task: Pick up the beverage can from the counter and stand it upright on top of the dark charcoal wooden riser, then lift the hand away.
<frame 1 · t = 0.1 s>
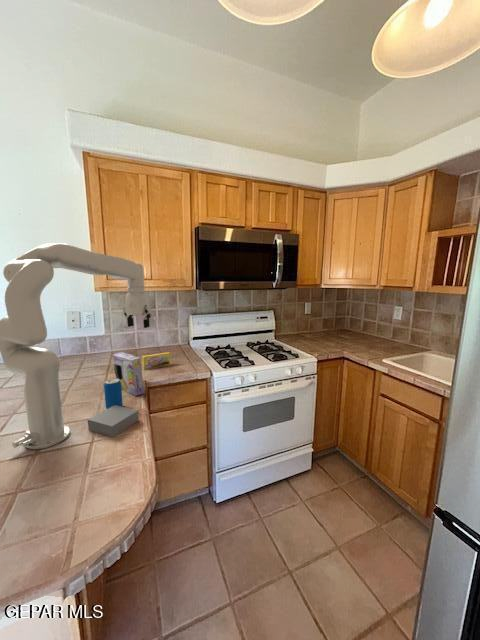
hand: (138, 326, 128), 31 cm above the countertop, tool pointing down, fingers open, 9 cm apart
riser: (114, 424, 101), on the countertop
candy box: (157, 367, 166), on the countertop
beverage can: (114, 408, 114), on the countertop
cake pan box: (129, 390, 132), on the countertop
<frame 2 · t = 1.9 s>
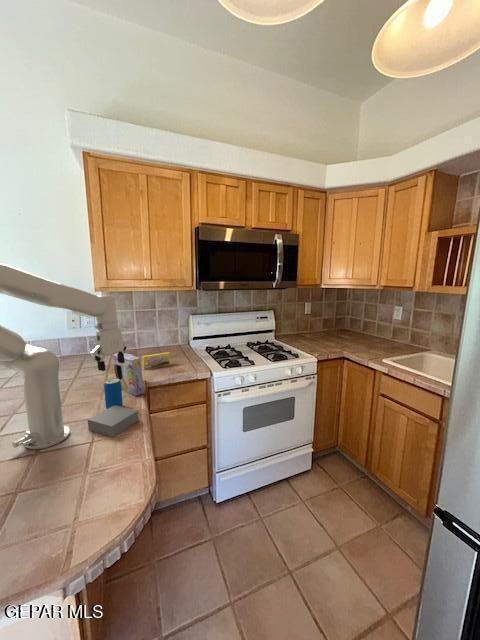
hand: (112, 366, 112), 18 cm above the countertop, tool pointing down, fingers open, 9 cm apart
nothing on the countertop moved.
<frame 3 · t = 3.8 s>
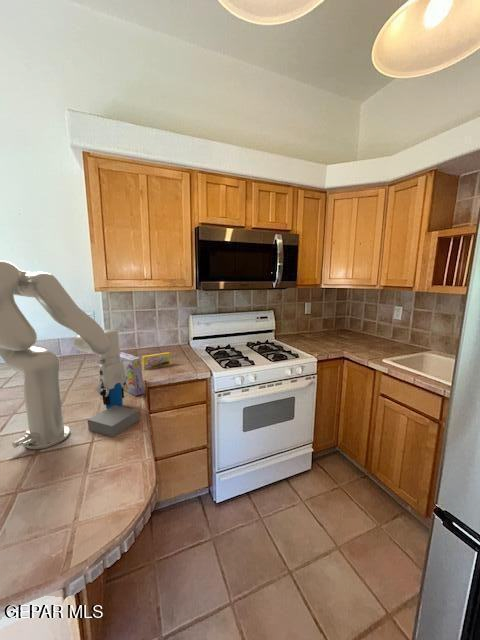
hand: (114, 400, 113), 3 cm above the countertop, tool pointing down, fingers closed on beverage can, 6 cm apart
beverage can: (114, 408, 114), on the countertop, touching gripper
everything else where it was.
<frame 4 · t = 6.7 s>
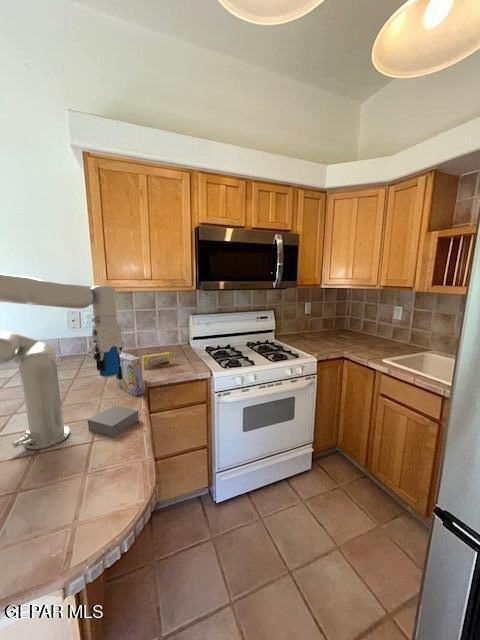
hand: (108, 367, 101), 21 cm above the countertop, tool pointing down, fingers closed on beverage can, 6 cm apart
beverage can: (109, 375, 101), point 18 cm above the countertop, touching gripper
everything else where it was.
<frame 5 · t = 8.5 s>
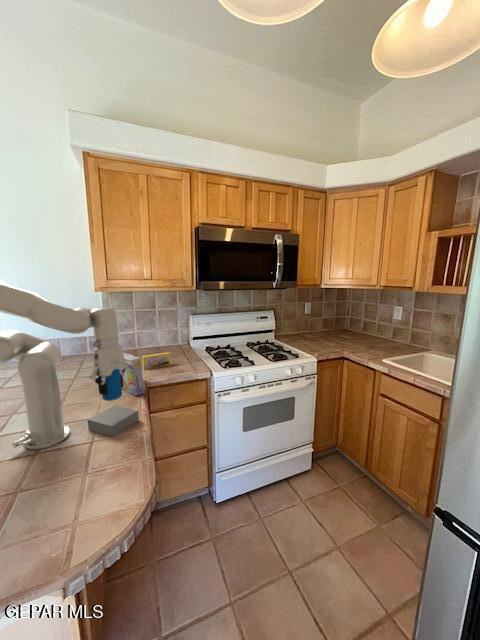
hand: (111, 389, 99), 14 cm above the countertop, tool pointing down, fingers closed on beverage can, 6 cm apart
beverage can: (112, 398, 99), point 10 cm above the countertop, touching gripper
everything else where it was.
when the fingers open (8 cm above the countertop, at t = 10.0 s): beverage can drops 1 cm, resting on riser.
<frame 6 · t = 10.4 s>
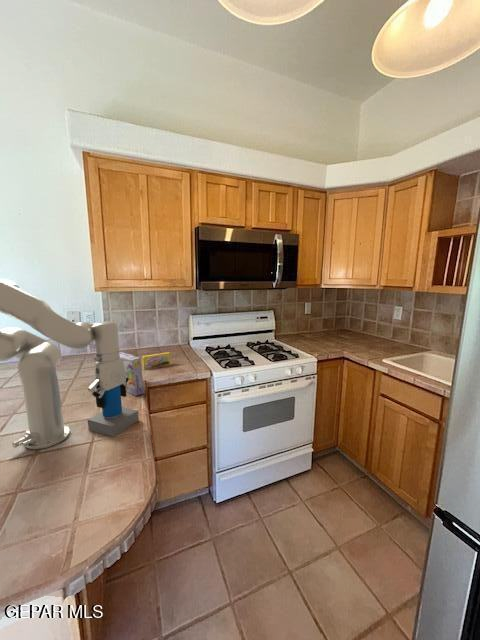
hand: (112, 401, 99), 9 cm above the countertop, tool pointing down, fingers open, 9 cm apart
beverage can: (112, 415, 100), point 4 cm above the countertop, touching riser
everything else where it was.
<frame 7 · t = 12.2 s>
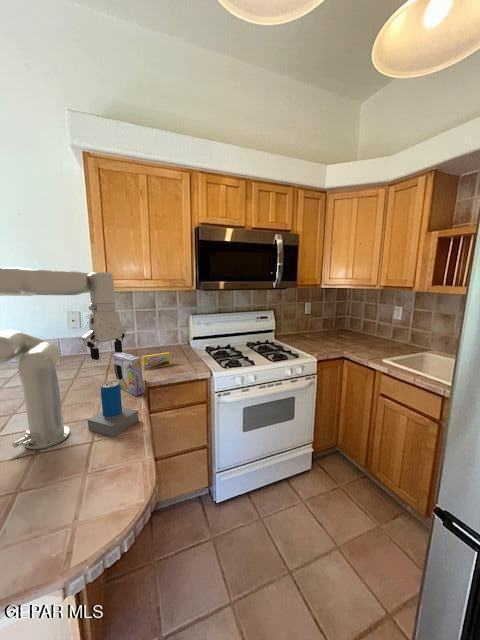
hand: (107, 355, 97), 27 cm above the countertop, tool pointing down, fingers open, 9 cm apart
nothing on the countertop moved.
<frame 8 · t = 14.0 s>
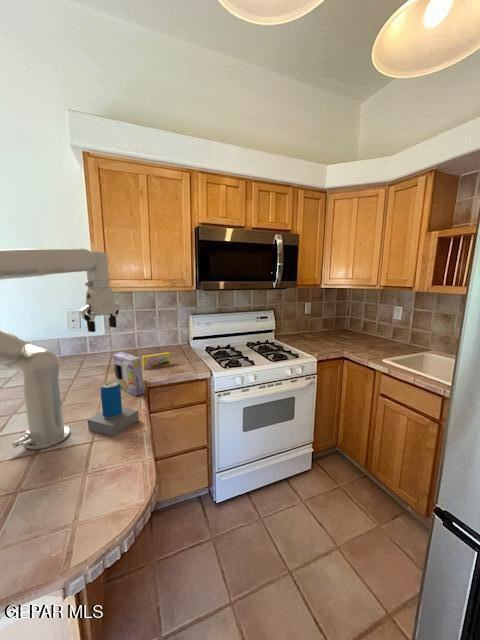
hand: (102, 329, 106), 34 cm above the countertop, tool pointing down, fingers open, 9 cm apart
nothing on the countertop moved.
at the end: beverage can inside the target area on the riser (0.2 cm from its centre), point 3.8 cm above the riser's base; beverage can tilted 0°; the gripper is holding nothing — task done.
